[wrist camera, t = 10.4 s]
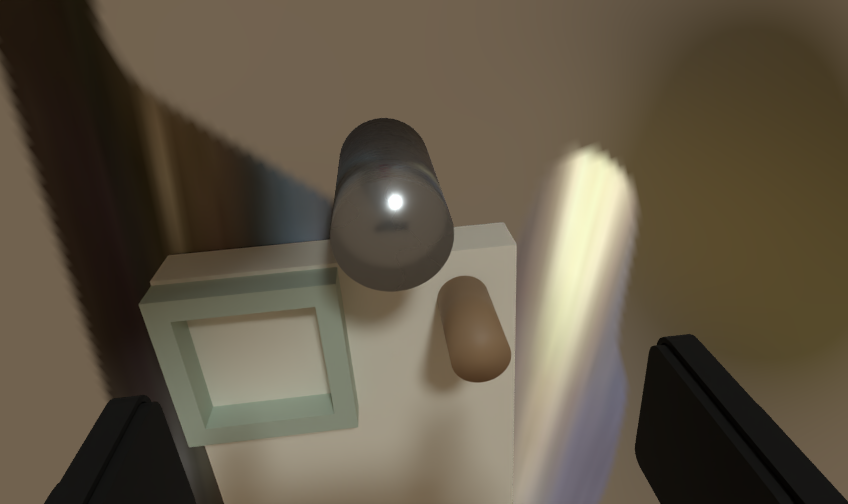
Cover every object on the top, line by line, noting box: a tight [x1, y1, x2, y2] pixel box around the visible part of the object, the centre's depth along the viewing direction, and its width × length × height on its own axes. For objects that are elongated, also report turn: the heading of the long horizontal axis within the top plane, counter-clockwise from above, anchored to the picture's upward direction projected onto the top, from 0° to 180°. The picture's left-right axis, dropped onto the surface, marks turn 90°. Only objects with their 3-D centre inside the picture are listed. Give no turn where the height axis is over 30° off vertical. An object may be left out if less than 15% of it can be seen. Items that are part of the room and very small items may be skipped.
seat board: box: [138, 222, 517, 504], centre depth 30 cm, size 28×18×7 cm, turn 4°
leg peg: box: [330, 118, 454, 292], centre depth 21 cm, size 4×4×8 cm
